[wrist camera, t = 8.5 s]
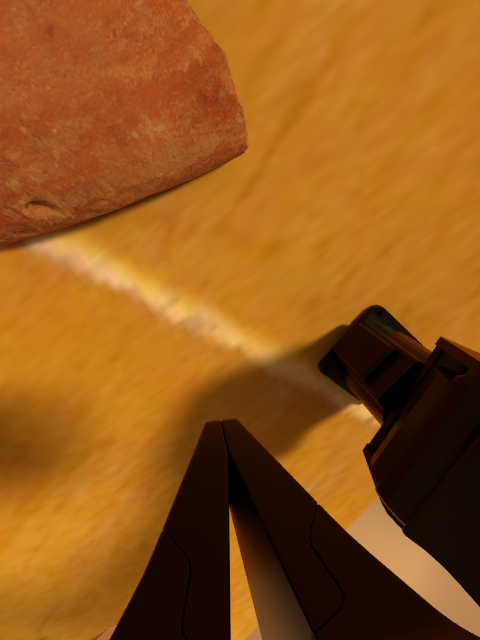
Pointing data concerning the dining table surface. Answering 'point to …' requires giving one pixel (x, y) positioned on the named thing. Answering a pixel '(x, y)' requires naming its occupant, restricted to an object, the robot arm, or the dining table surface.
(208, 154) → the ceramic shard
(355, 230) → the dining table surface
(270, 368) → the dining table surface
